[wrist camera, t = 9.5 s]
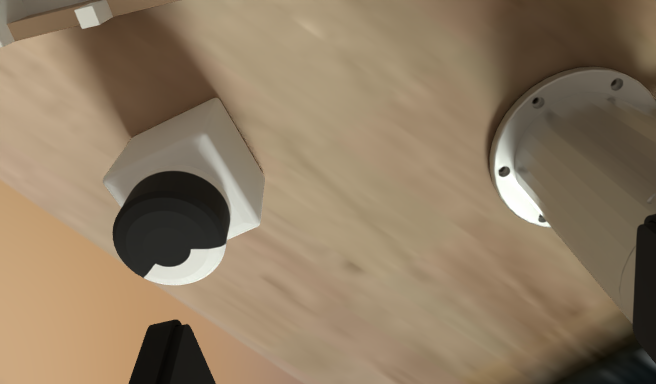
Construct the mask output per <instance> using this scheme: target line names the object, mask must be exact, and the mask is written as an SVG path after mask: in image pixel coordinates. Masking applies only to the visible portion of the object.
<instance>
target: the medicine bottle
mask: <svg viewBox="0 0 656 384" xmlns="http://www.w3.org/2000/svg"><path fill="white" fill-rule="evenodd" d="M264 182H265V177H264V175H263V173H262V171H261V169H260V168H259V166H258V164H257V163H256V161H255V159H254V157H253V156H252V154H251V152H250V151H249V149H248V147H247V145H246V144H245V142H244V140H243V139H242V137H241V135H240V133H239V132H238V130H237V128H236V126H235V125H234V123H233V121H232V120H231V118H230V116H229V114H228V113H227V111H226V109H225V108H224V106H223V104H222V102H221V101H220V99H219V98H212V99H210V100H208V101H206V102H204V103H202V104H200V105H198V106H196V107H194V108H192V109H190V110H188V111H186V112H184V113H182V114H179V115H177V116H175V117H173V118H171V119H169V120H167V121H165V122H163V123H161V124H159V125H157V126H155V127H153V128H151V129H149V130H146V131H144V132H142V133H140V134H138V135H136V136H134V137H133V138H131V140H130V141H129V143H128V144H127V145H126V147H125V148H124V150H123V151H122V152H121V154H120V155H119V157H118V158H117V160H116V161H115V162H114V164H113V165H112V167H111V168H110V169H109V171H108V172H107V174H106V175H105V176H104V178H103V183H104V185H105V186H106V188H107V189H108V190H109V192H110V193H111V194H112V196H113V197H114V198H115V200H116V201H117V202H118V204H119V205H120V206H121V210H120V211H119V213H118V215H117V217H116V219H115V222H114V226H113V241H114V246H115V248H116V251H117V253H118V255H119V256H120V258H121V259H122V261H123V262H124V263H125V264H126V265H127V266H128V267H129V268H130V269H131V270H132V271H133V272H135V273H136V274H138V275H140V276H141V277H143V278H145V279H147V280H149V281H152V282H155V283H159V284H165V285H183V284H189V283H193V282H196V281H198V280H201V279H202V278H204V277H206V276H207V275H209V274H210V273H211V272H212V271H213V270H214V269H215V268H216V267H217V266H218V265H219V263H220V262H221V260H222V258H223V255H224V252H225V248H226V243H227V240H228V239H230V238H233V237H235V236H237V235H239V234H242V233H244V232H246V231H248V230H251V229H253V228H255V227H257V226H259V224H260V222H261V213H262V203H263V193H264Z"/></svg>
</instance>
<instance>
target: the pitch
mask: <svg viewBox="0 0 656 384" xmlns="http://www.w3.org/2000/svg"><path fill="white" fill-rule="evenodd" d="M175 1H180V0H0V47H4V46H6V45H8V44H10V43H12V42H14V41H18V40H22V39H26V38H30V37H34V36H38V35H42V34H46V33H50V32H54V31H58V30H62V29H66V28H70V27H75V26H79V25H81V28H82V29H84V28H88V27H93V26H97V25H100V24H102V23H104V22H105V21H107V20H109V19H110V18H112V17H115V16H119V15H123V14H127V13H131V12H135V11H139V10H143V9H147V8H151V7H155V6H159V5H163V4H167V3H171V2H175Z"/></svg>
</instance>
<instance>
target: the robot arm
mask: <svg viewBox="0 0 656 384" xmlns="http://www.w3.org/2000/svg"><path fill="white" fill-rule="evenodd" d="M612 81H613V82H612ZM535 98H536V100H535V101H534V102H532V101H533V100H534V99H535ZM489 160H490V174H491V178H492V182H493V186H494V188H495V189H496V191H497V193H498V195H499V197H500V198H501V200H502V201H503V202H504V203H505V205H506V206H507V207H508V208H509V209H510V210H511V211H512V212H513V213H514V214H515V215H517V216H518V217H520V218H522V219H523V220H525V221H527V222H529V223H532V224H535V225H538V226H542V227H550V228H553V230H554V231H555V232H556V233H557V234H558V236H559V237H560V238H561V239H562V240H563V242H564V243H565V244H566V245H567V246H568V248H569V249H570V250H571V251H572V252H573V254H574V255H575V256H576V257H577V258H578V260H579V261H580V262H581V263H582V264H583V266H584V267H585V268H586V269H587V270H588V272H589V273H590V274H591V275H592V276H593V278H594V279H595V280H596V281H597V282H598V284H599V285H600V286H601V287H602V288H603V290H604V291H605V292H606V293H607V294H608V296H609V297H610V298H611V299H612V300H613V302H614V303H615V304H616V305H617V306H618V308H619V309H620V310H621V311H622V312H623V314H624V315H625V316H626V317H627V318H628V319H629V320H630V322H631V323H632V324H633V331H634V334H635V337H636V339H637V341H638V342H639V344H640V345H641V346H642V347H643V349H644V350H645V351H646V352H647V354H648V355H649V356H650V357H651V358H652V360H653V361H654V362H655V363H656V100H655V99H654V97H653V96H652V94H651V93H650V91H649V90H648V89H647V88H646V87H644V86H643V85H642V84H641V83H640V82H639V81H637V80H635V79H633V78H632V77H630V76H628V75H626V74H623V73H621V72H618V71H616V70H613V69H608V68H602V67H580V68H575V69H571V70H567V71H563V72H560V73H558V74H555V75H553V76H551V77H548V78H546V79H544V80H543V81H541V82H540V83H538V84H537V85H535V86H533V87H532V88H530V89H529V90H528V91H527V92H526V93H525V94H523V95H522V96H521V97H520V98H519V99H518V100H517V101H516V102H515V103H514V104H513V106H512V107H511V108H510V109H509V110H508V112H507V113H506V114H505V116H504V118H503V119H502V121H501V123H500V125H499V126H498V128H497V131H496V133H495V136H494V139H493V142H492V146H491V152H490V158H489ZM501 167H503V168H502V169H500V168H501ZM129 384H216V383H215V381H214V379H213V376H212V374H211V372H210V370H209V367H208V365H207V363H206V361H205V358H204V356H203V354H202V352H201V349H200V347H199V345H198V342H197V340H196V338H195V336H194V333H193V331H192V329H191V327H190V326H189V325H188V324H186V325H182V324H181V323H180V321H178V320H171V321H167V322H162V323H158V324H153V325H150V326H149V327H148V329H147V332H146V335H145V337H144V340H143V343H142V347H141V349H140V352H139V355H138V358H137V361H136V364H135V367H134V369H133V372H132V375H131V378H130V381H129Z"/></svg>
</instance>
